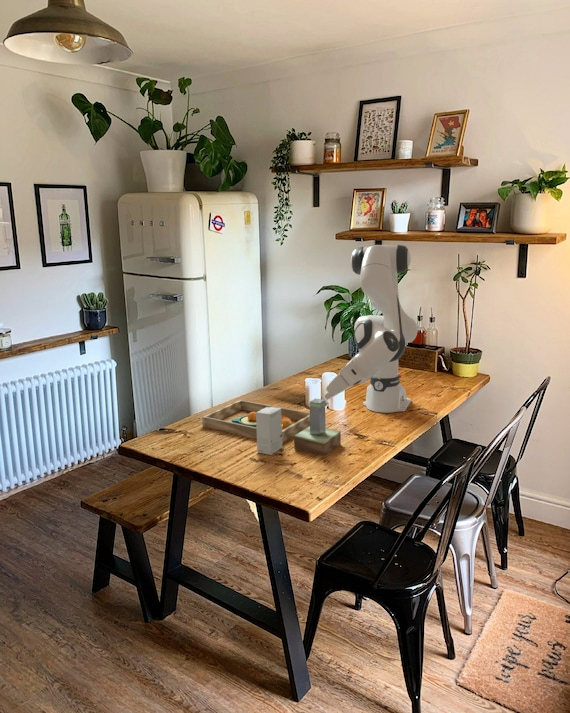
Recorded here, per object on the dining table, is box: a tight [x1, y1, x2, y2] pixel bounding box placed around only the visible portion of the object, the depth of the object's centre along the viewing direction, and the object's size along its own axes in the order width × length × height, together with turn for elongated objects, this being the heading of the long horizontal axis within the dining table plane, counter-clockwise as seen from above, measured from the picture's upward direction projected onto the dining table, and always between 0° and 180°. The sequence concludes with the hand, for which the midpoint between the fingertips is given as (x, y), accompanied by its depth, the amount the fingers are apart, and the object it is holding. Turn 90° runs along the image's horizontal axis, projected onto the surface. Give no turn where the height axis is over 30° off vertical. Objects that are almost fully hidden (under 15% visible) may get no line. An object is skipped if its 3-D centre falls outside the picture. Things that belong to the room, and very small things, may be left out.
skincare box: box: [256, 407, 283, 456], centre depth 212 cm, size 8×6×15 cm
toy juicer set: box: [227, 411, 293, 430], centre depth 236 cm, size 29×18×8 cm, turn 59°
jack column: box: [308, 398, 327, 436], centre depth 214 cm, size 4×4×12 cm
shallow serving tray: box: [201, 399, 310, 443], centre depth 239 cm, size 25×36×4 cm
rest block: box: [293, 426, 342, 457], centre depth 216 cm, size 12×12×5 cm
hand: (333, 393), depth 208 cm, fingers open, 8 cm apart
